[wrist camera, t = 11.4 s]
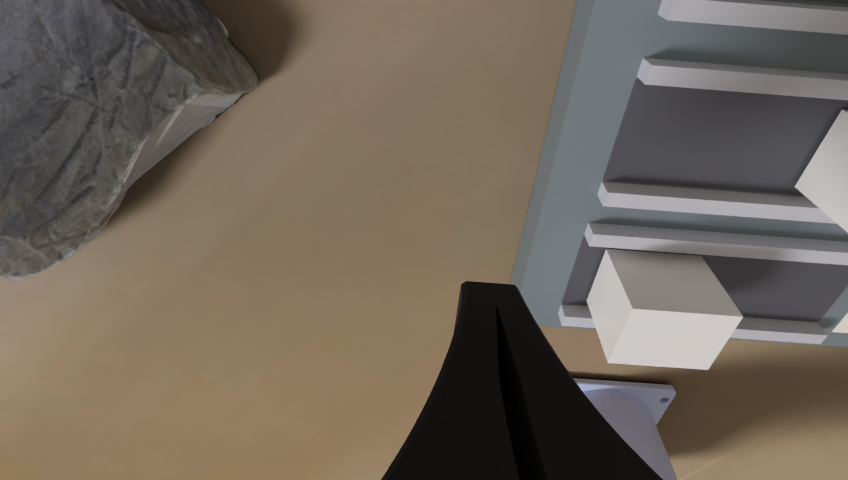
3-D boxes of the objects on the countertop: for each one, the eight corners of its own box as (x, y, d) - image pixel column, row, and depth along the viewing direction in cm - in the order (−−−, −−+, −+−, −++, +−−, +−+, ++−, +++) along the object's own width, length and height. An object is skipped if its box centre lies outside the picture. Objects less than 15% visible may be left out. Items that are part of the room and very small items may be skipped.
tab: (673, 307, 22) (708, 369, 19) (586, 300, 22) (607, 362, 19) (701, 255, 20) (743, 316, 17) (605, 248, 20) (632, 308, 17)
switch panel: (852, 319, 25) (893, 363, 23) (507, 294, 25) (514, 336, 22) (1302, -201, 13) (1483, -218, 11) (638, -259, 13) (680, -289, 10)
